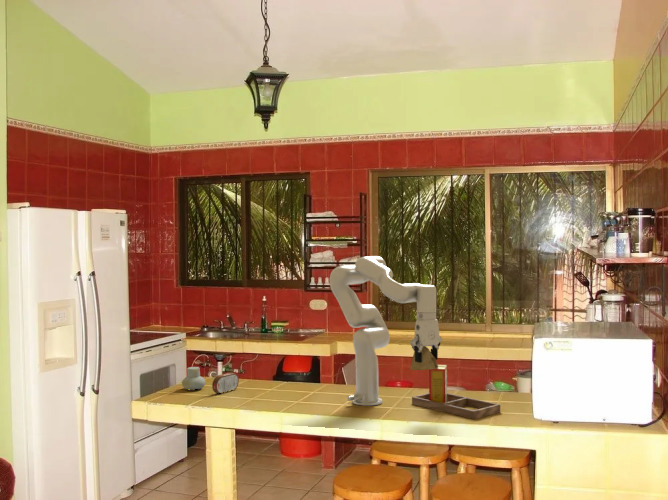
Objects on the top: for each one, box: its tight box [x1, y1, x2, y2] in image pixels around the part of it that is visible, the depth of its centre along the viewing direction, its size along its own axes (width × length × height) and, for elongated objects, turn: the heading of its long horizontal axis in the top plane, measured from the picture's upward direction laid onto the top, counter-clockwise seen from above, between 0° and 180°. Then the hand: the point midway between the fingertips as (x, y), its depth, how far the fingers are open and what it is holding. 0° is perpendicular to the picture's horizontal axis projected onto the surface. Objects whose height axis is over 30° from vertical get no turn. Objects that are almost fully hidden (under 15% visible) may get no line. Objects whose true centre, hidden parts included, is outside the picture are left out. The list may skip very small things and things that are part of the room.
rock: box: [410, 346, 439, 371], centre depth 273 cm, size 11×9×10 cm
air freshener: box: [181, 366, 206, 391], centre depth 326 cm, size 11×8×10 cm
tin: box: [211, 372, 240, 394], centre depth 319 cm, size 15×3×8 cm, turn 144°
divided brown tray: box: [411, 392, 501, 420], centre depth 284 cm, size 16×33×3 cm, turn 39°
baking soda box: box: [428, 364, 448, 403], centre depth 290 cm, size 10×6×16 cm
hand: (426, 360), depth 273 cm, fingers closed on rock, 8 cm apart
